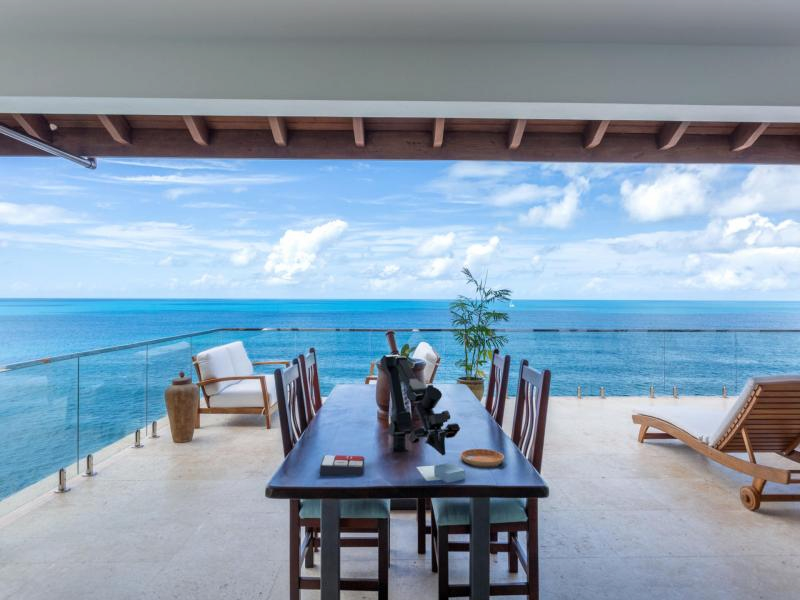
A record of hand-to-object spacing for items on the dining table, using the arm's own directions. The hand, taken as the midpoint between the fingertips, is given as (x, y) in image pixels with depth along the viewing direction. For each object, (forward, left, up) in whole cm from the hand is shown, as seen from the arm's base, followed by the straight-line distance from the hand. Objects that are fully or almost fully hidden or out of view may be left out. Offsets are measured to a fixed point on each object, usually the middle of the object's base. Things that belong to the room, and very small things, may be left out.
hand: (444, 454), depth 157 cm
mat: (-2, -1, -7) cm, 8 cm away
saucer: (-10, +18, -8) cm, 22 cm away
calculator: (-14, -34, -8) cm, 37 cm away
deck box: (-1, 0, -5) cm, 5 cm away
